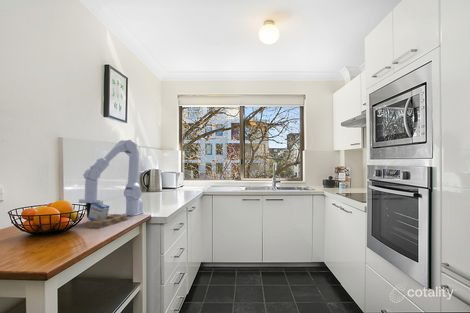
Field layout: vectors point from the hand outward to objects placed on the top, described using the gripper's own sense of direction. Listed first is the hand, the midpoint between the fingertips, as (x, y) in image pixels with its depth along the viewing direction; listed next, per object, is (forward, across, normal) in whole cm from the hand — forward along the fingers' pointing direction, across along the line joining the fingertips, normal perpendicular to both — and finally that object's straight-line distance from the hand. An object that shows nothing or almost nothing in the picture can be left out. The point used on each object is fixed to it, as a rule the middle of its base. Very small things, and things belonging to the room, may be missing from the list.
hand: (90, 217), depth 142 cm
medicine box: (+1, +4, +1) cm, 5 cm away
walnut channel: (+2, +11, +1) cm, 11 cm away
